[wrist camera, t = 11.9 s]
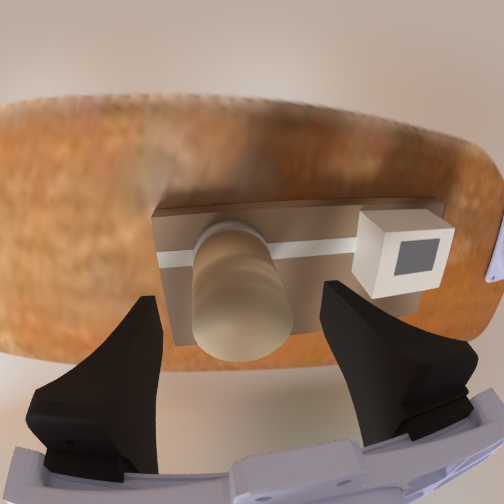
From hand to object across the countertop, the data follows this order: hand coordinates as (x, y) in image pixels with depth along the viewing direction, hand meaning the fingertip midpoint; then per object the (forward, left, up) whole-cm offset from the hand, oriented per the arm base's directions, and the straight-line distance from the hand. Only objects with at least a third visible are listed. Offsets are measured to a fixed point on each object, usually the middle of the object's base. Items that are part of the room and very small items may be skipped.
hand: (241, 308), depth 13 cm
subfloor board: (-5, +2, -6) cm, 8 cm away
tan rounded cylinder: (0, 0, -5) cm, 5 cm away
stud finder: (-10, 0, -5) cm, 11 cm away
